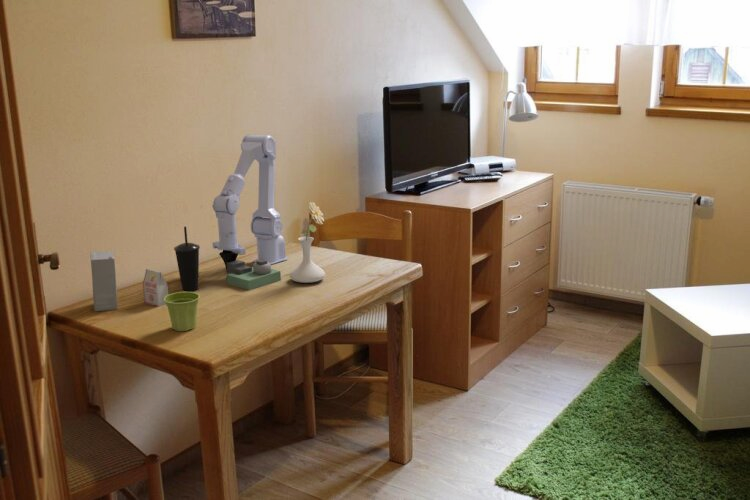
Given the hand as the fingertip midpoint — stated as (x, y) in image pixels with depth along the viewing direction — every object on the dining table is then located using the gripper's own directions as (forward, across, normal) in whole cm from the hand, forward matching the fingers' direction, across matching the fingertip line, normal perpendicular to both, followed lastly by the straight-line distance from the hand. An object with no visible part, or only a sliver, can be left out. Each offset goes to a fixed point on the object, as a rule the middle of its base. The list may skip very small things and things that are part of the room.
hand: (230, 272), depth 252 cm
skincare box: (+2, -6, -41) cm, 41 cm away
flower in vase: (+2, +22, +14) cm, 26 cm away
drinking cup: (+2, 0, -16) cm, 16 cm away
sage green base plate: (+2, +10, +2) cm, 10 cm away
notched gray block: (+2, +5, 0) cm, 5 cm away
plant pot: (+2, +27, -37) cm, 46 cm away
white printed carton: (+2, +3, -30) cm, 30 cm away
